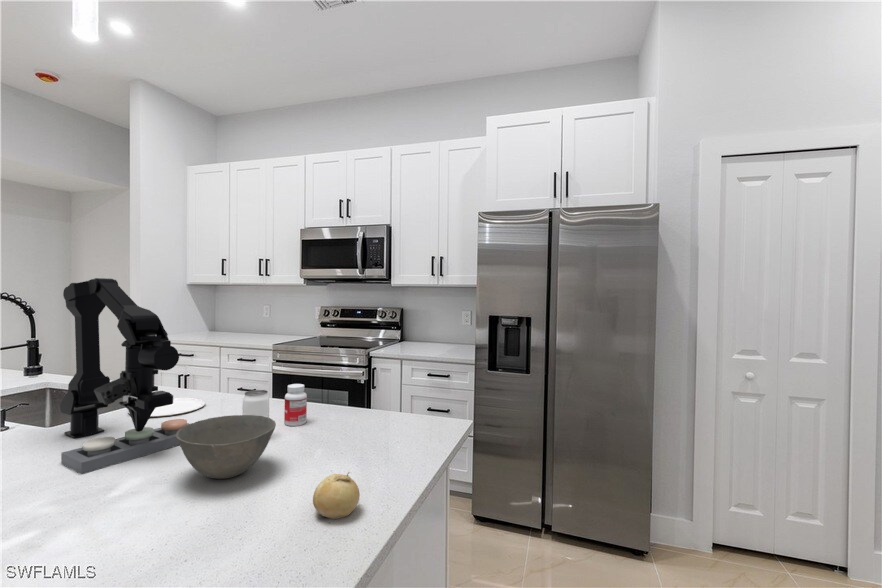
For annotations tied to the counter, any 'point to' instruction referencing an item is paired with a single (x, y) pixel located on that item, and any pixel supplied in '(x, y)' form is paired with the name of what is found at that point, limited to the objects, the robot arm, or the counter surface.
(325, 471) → the counter surface
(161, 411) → the plate
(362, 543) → the counter surface
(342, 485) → the onion
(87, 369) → the robot arm
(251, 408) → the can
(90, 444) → the ivory button
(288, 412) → the pill bottle
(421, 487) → the counter surface
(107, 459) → the panel
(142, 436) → the sage button
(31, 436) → the counter surface
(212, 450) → the bowl
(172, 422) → the terracotta button
